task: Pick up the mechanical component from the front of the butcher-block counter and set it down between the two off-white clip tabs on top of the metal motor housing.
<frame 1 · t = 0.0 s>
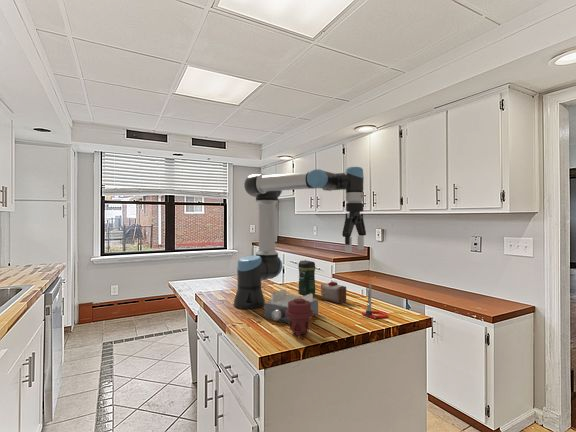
hand: (354, 251, 143), 28 cm above the counter, fingers open, 13 cm apart
tow hook: (375, 316, 142), on the counter
food item: (333, 301, 168), on the counter
coffee jar: (306, 294, 183), on the counter
mechanical component: (299, 333, 121), on the counter
motor housing: (291, 315, 142), on the counter
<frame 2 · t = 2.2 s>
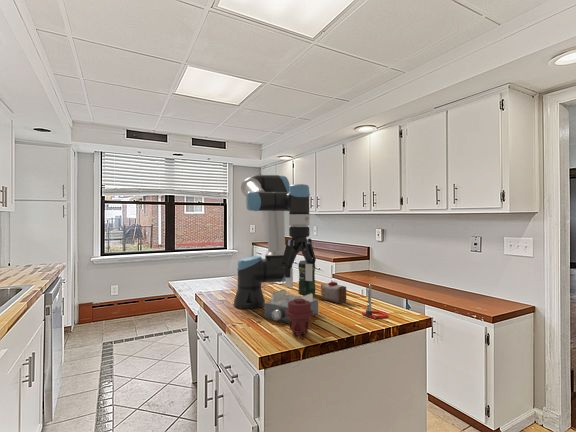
hand: (299, 283, 121), 18 cm above the counter, fingers open, 13 cm apart
nothing on the counter moved.
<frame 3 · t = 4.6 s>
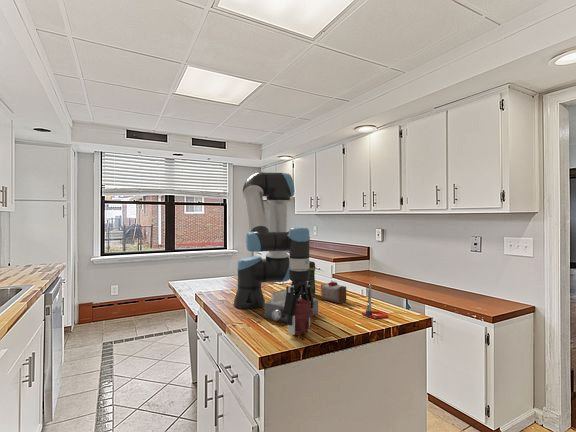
hand: (299, 329, 121), 1 cm above the counter, fingers closed on mechanical component, 10 cm apart
mechanical component: (299, 333, 121), on the counter, touching gripper
everything else where it was.
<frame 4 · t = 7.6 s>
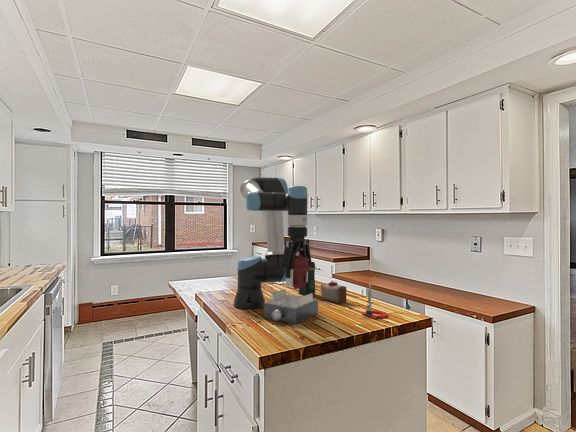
hand: (297, 284, 126), 17 cm above the counter, fingers closed on mechanical component, 10 cm apart
mechanical component: (297, 287, 126), point 16 cm above the counter, touching gripper
everything else where it was.
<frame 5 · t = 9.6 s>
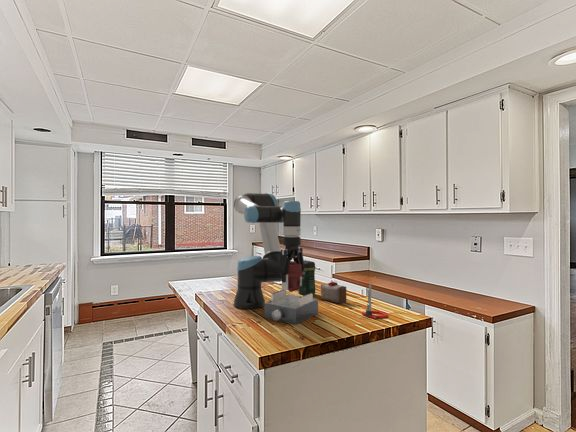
hand: (292, 287, 142), 12 cm above the counter, fingers closed on mechanical component, 10 cm apart
mechanical component: (292, 290, 142), point 11 cm above the counter, touching gripper
everything else where it was.
when the fingers open (9 cm above the counter, at t = 11.1 s): mechanical component drops 1 cm, resting on motor housing.
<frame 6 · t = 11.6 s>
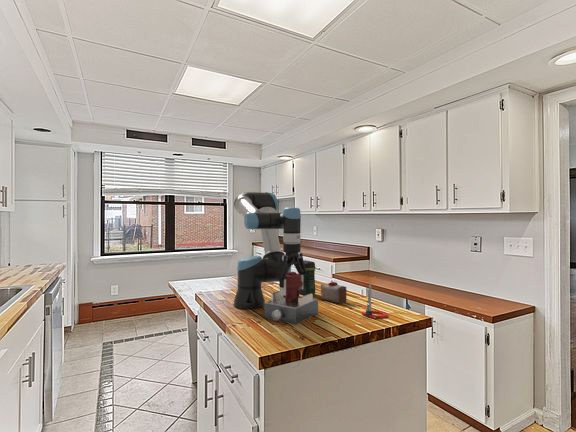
hand: (291, 292, 142), 10 cm above the counter, fingers open, 13 cm apart
mechanical component: (291, 301, 142), point 6 cm above the counter, touching motor housing
everything else where it was.
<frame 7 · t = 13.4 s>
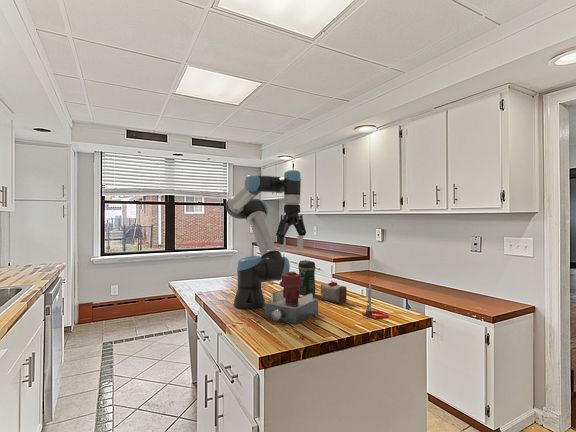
hand: (291, 250, 150), 27 cm above the counter, fingers open, 13 cm apart
nothing on the counter moved.
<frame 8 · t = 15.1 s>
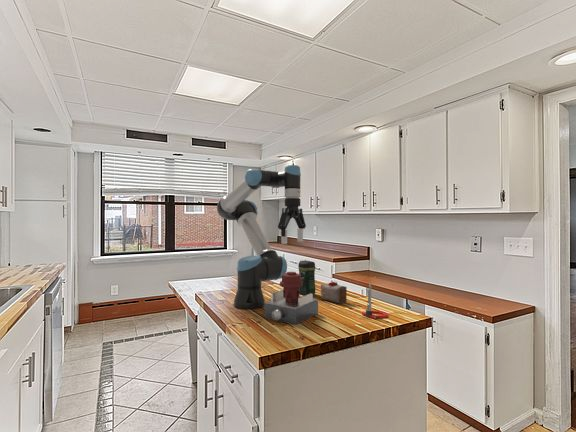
hand: (292, 242, 155), 31 cm above the counter, fingers open, 13 cm apart
nothing on the counter moved.
at the end: mechanical component 0.4 cm off-centre on the motor housing, point 6.4 cm above the motor housing's base; mechanical component tilted 0°; the gripper is holding nothing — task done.
